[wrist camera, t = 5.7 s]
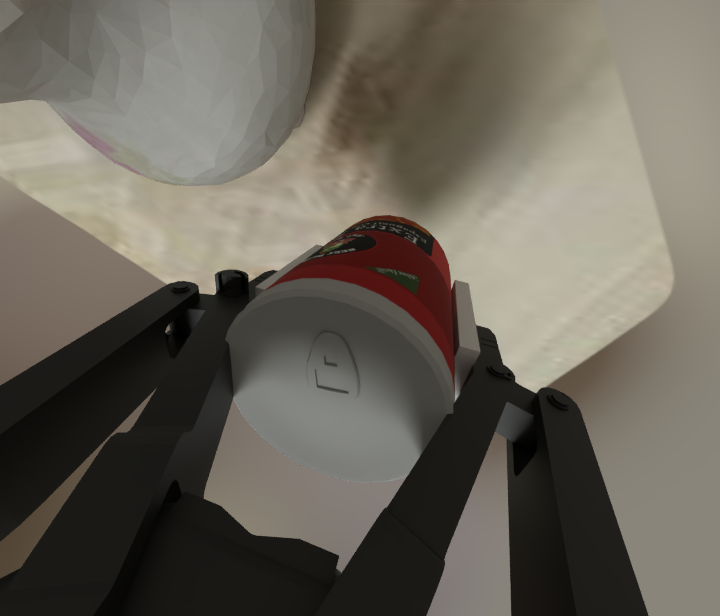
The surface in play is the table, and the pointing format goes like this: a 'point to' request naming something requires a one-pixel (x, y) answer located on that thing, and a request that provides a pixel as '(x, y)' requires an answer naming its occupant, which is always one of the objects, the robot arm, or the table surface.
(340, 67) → the table surface
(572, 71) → the table surface
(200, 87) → the ceramic pitcher
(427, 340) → the canned food
